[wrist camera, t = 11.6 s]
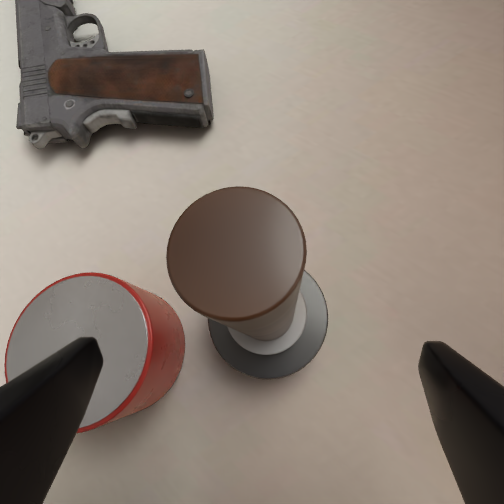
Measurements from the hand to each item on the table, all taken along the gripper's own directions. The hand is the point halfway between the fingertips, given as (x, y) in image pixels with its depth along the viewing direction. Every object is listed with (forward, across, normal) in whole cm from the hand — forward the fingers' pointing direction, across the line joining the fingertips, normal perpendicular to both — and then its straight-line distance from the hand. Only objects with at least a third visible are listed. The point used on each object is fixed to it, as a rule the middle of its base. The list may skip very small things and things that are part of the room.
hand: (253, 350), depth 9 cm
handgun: (+24, +13, -9) cm, 29 cm away
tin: (+7, +8, +7) cm, 13 cm away
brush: (+8, 0, +6) cm, 10 cm away
